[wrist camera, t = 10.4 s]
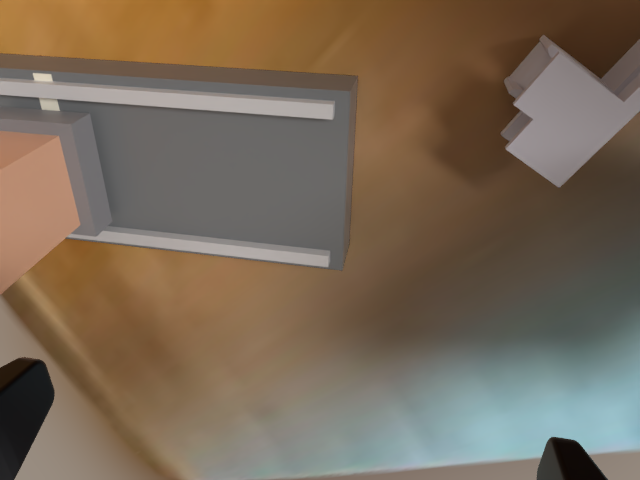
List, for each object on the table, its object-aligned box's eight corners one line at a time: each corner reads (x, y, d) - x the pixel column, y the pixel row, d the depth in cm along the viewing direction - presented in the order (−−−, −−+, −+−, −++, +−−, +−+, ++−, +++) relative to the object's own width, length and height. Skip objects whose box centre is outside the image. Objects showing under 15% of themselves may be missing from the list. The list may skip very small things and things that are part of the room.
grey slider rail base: (357, 75, 19) (348, 94, 17) (349, 244, 23) (340, 276, 21) (-129, 45, 22) (-186, 58, 20) (-68, 198, 26) (-111, 223, 24)
